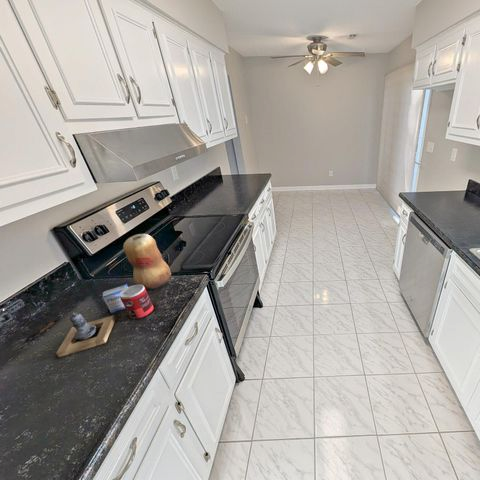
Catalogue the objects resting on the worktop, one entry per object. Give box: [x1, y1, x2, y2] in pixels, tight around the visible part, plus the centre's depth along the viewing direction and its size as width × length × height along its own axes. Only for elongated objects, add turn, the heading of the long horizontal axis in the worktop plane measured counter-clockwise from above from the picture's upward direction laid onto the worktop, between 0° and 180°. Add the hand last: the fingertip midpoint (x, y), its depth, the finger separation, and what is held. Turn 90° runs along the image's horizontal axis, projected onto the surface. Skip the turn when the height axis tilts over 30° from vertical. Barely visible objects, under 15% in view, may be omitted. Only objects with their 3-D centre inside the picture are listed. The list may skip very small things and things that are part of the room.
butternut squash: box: [122, 233, 172, 290], centre depth 109 cm, size 14×13×25 cm
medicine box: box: [102, 283, 129, 314], centre depth 101 cm, size 8×4×9 cm, turn 126°
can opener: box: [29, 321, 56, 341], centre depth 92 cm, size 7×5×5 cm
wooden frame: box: [55, 314, 117, 358], centre depth 88 cm, size 13×13×2 cm
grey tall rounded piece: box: [69, 312, 97, 341], centre depth 86 cm, size 6×6×12 cm
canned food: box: [119, 284, 154, 320], centre depth 96 cm, size 8×8×11 cm
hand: (7, 301), depth 67 cm, fingers open, 8 cm apart
